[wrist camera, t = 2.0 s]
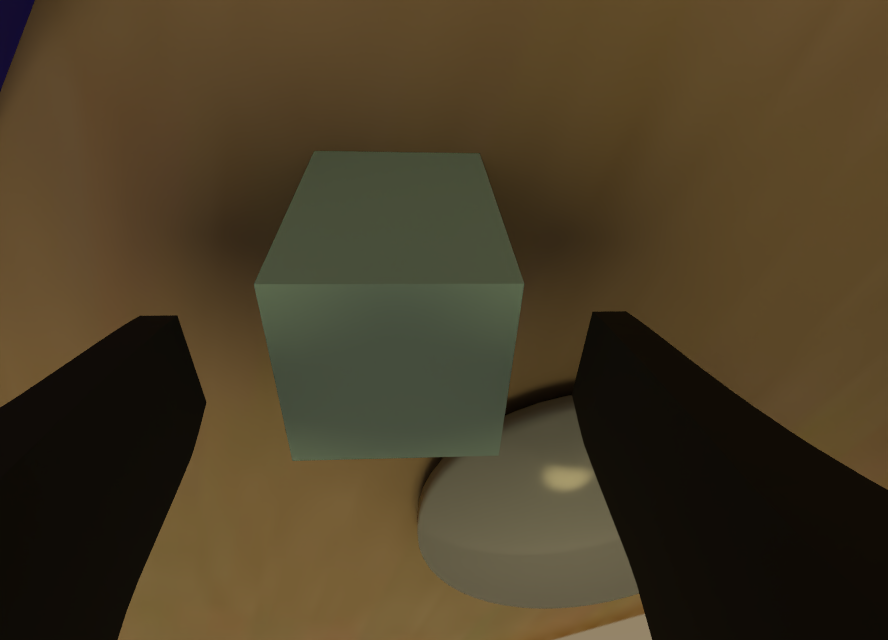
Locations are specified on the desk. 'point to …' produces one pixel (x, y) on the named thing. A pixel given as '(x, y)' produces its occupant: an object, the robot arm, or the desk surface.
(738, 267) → the desk surface
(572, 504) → the slate plate
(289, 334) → the pale green block
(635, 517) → the robot arm
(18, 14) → the cable clip
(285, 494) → the desk surface
